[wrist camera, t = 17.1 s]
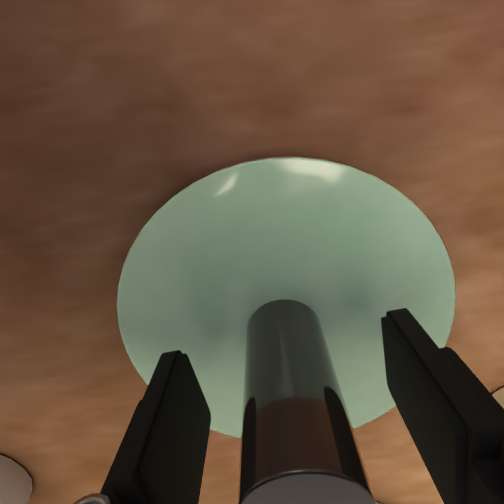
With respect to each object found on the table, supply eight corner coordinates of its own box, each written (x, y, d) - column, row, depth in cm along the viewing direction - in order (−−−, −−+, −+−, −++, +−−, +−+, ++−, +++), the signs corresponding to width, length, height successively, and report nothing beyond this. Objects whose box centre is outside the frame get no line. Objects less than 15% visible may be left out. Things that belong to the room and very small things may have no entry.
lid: (73, 201, 11) (-197, 318, 4) (438, 110, 10) (814, 88, 3) (184, 438, 16) (132, 663, 9) (440, 399, 14) (593, 629, 8)
